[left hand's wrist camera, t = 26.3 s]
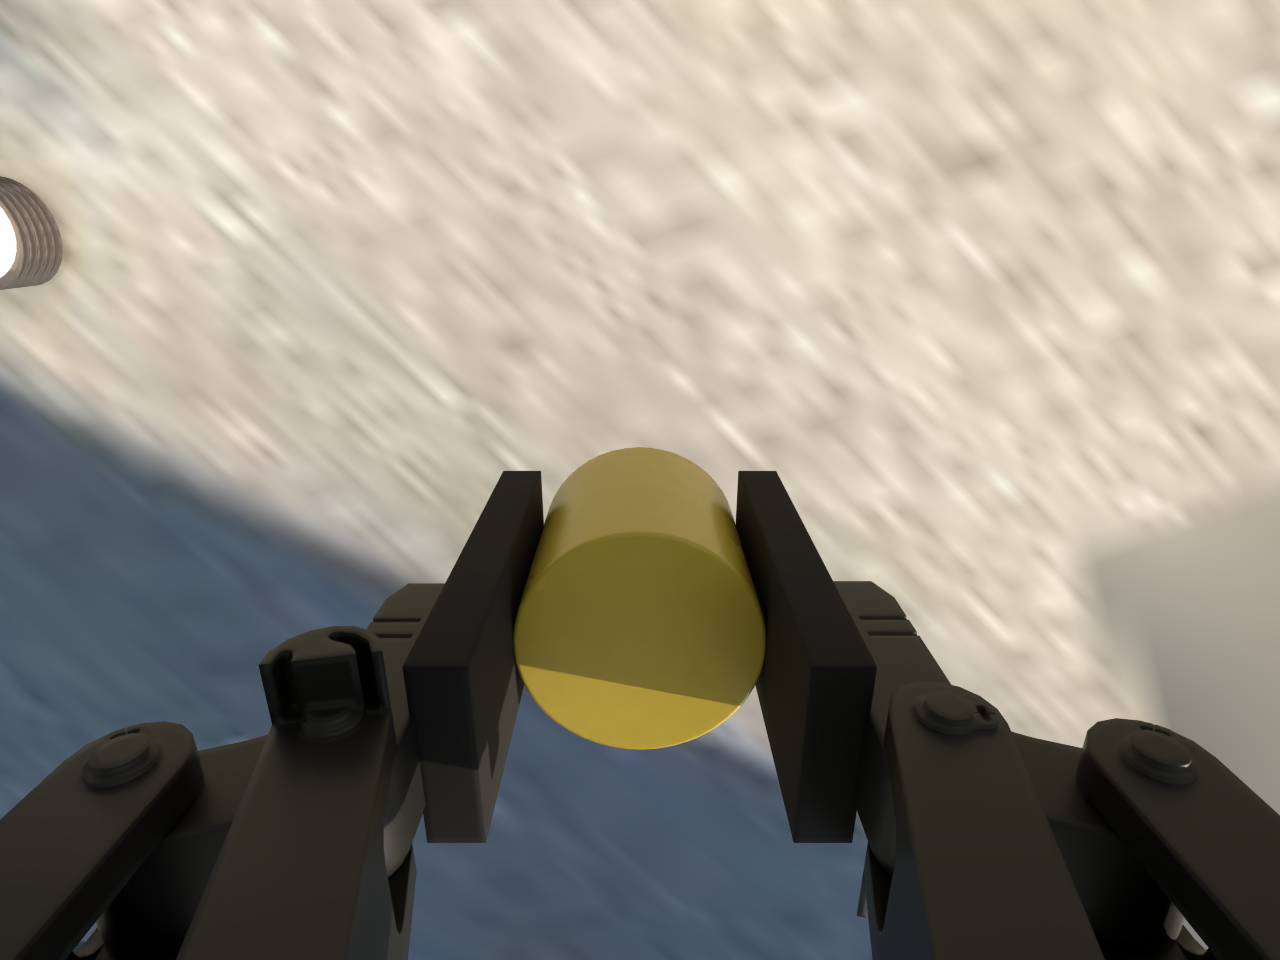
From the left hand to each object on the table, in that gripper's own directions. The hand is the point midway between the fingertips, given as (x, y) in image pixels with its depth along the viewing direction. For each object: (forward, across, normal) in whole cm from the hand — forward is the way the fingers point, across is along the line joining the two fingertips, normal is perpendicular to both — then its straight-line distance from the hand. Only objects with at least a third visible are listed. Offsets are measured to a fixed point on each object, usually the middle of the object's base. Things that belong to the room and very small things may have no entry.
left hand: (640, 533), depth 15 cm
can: (0, 0, 0) cm, 0 cm away
